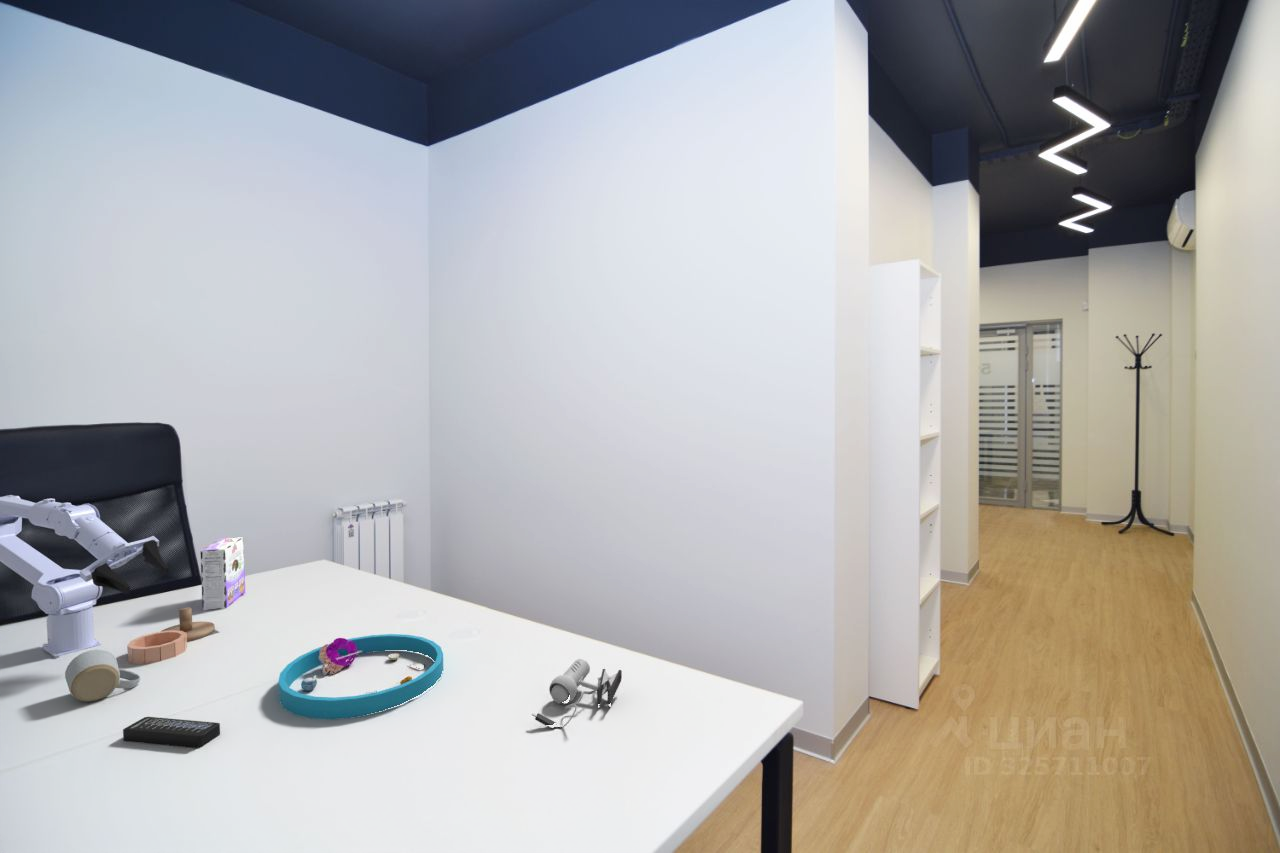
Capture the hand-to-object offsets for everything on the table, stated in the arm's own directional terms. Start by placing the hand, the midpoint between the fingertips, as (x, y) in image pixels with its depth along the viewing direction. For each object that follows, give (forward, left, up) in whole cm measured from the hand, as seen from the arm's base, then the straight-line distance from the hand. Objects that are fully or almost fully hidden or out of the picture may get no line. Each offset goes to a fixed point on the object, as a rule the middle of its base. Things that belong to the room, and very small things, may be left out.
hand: (147, 580), depth 135 cm
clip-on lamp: (+90, +34, -17) cm, 98 cm away
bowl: (0, +1, -17) cm, 17 cm away
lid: (-7, +9, -17) cm, 20 cm away
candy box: (-25, +25, -17) cm, 40 cm away
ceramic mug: (+11, -11, -17) cm, 23 cm away
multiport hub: (+40, -11, -18) cm, 45 cm away
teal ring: (+48, +19, -18) cm, 55 cm away
